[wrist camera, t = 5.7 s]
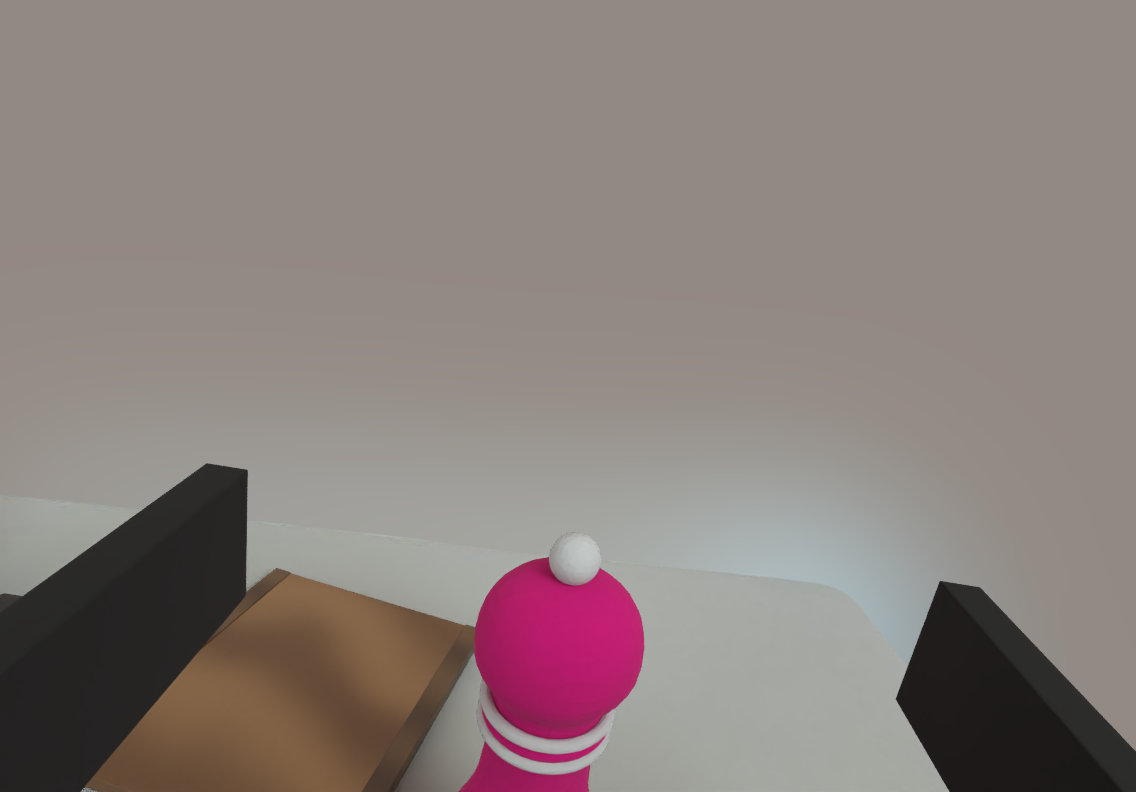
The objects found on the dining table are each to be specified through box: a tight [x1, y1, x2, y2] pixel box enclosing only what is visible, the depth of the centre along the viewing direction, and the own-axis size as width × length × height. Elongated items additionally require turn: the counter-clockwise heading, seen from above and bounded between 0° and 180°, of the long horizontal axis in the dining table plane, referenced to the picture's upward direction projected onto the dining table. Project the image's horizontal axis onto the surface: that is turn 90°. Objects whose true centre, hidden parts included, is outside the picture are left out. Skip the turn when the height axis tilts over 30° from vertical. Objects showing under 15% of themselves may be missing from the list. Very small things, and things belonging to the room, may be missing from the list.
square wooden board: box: [86, 568, 475, 792], centre depth 40 cm, size 18×16×1 cm
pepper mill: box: [459, 532, 644, 792], centre depth 26 cm, size 7×7×20 cm
